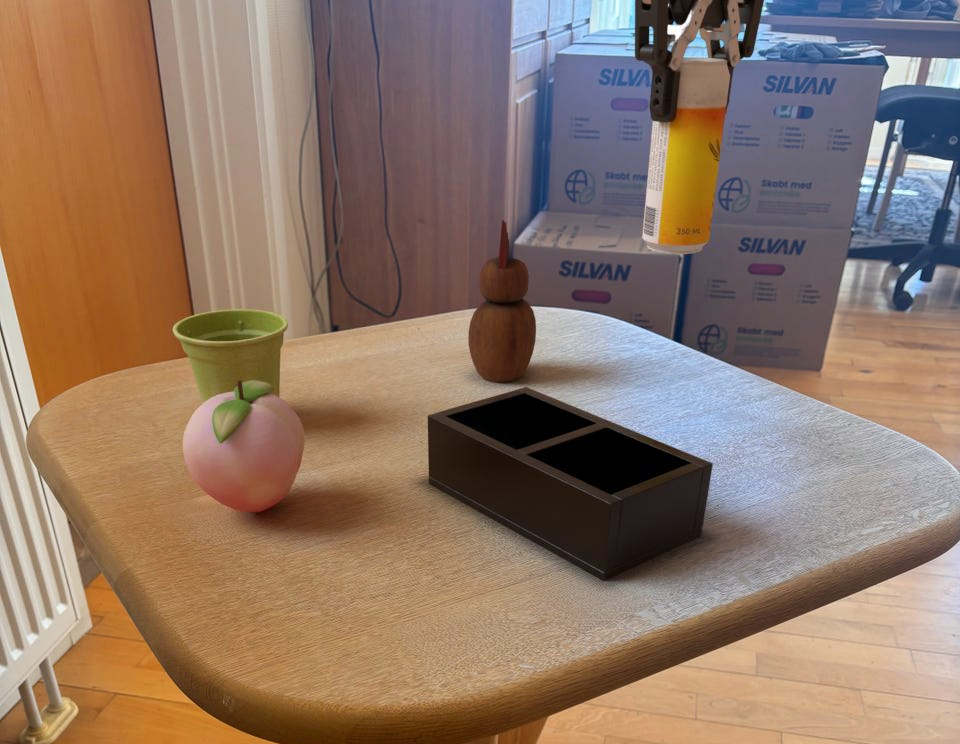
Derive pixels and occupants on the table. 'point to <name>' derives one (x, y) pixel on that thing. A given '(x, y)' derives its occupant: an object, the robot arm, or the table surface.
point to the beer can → (687, 161)
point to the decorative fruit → (244, 447)
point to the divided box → (569, 479)
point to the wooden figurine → (502, 318)
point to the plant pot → (232, 348)
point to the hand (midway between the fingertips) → (688, 118)
